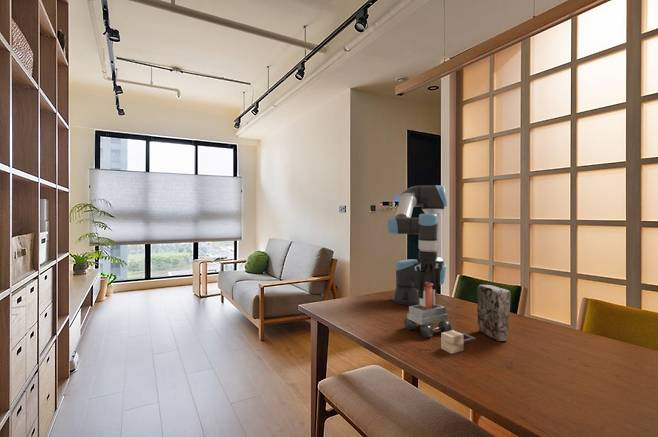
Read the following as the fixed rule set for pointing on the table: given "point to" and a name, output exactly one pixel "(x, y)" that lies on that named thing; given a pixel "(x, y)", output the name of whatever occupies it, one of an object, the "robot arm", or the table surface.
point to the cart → (427, 319)
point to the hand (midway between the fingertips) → (427, 304)
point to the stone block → (493, 311)
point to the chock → (452, 341)
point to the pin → (428, 295)
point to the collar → (468, 338)
